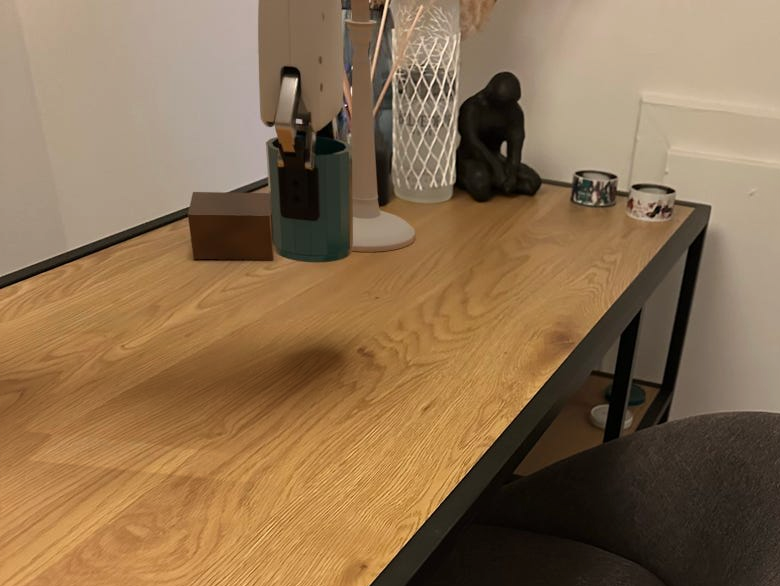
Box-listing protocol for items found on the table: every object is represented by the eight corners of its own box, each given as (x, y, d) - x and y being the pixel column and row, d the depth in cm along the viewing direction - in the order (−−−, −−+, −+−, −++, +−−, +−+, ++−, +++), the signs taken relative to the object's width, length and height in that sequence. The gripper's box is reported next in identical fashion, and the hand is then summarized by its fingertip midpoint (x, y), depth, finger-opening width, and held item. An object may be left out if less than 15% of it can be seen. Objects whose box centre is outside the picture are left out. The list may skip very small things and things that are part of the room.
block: (193, 260, 108) (187, 214, 105) (198, 235, 115) (192, 191, 112) (273, 260, 109) (269, 215, 106) (273, 236, 116) (269, 193, 113)
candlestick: (349, 214, 125) (342, -66, 106) (433, 232, 121) (440, -55, 102) (292, 237, 116) (272, -64, 97) (380, 258, 112) (378, -52, 93)
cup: (263, 257, 81) (256, 149, 76) (284, 233, 86) (278, 131, 81) (343, 266, 81) (341, 159, 76) (359, 241, 86) (358, 140, 81)
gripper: (282, -58, 77) (293, 176, 88) (217, -43, 63) (239, 230, 75) (372, -49, 77) (372, 184, 88) (326, -32, 63) (332, 241, 75)
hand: (311, 204), depth 81 cm, fingers closed on cup, 7 cm apart
